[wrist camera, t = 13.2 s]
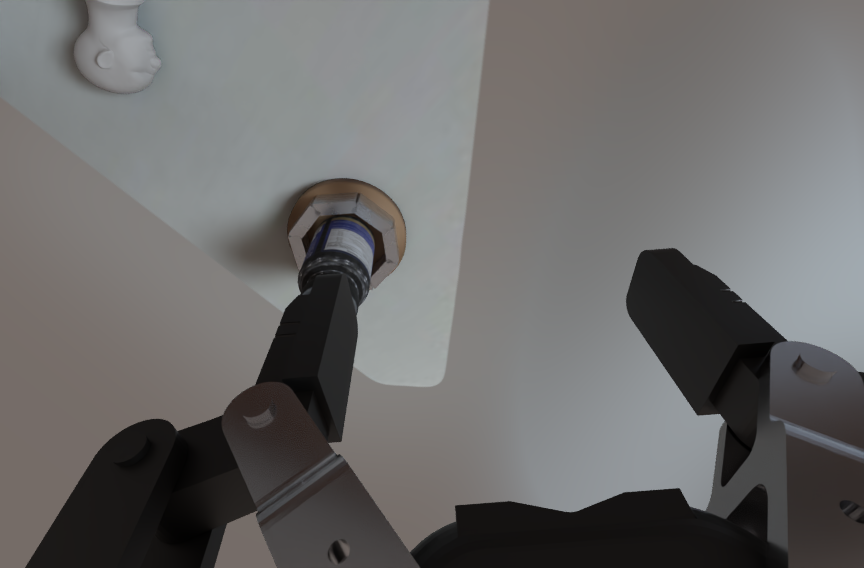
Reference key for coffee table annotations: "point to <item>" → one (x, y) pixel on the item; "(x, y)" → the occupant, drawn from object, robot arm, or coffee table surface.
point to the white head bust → (116, 48)
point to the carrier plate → (356, 203)
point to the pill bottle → (340, 255)
